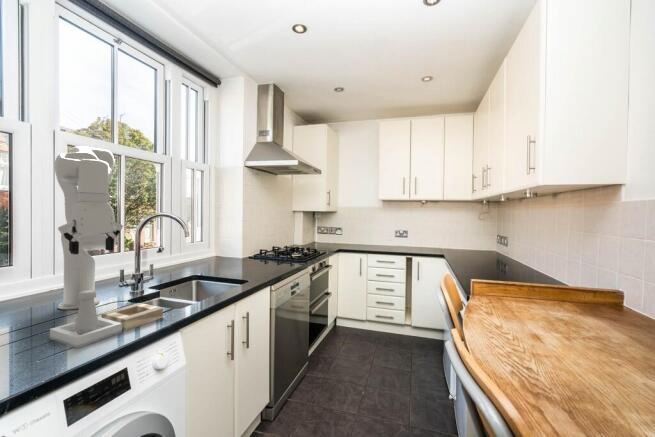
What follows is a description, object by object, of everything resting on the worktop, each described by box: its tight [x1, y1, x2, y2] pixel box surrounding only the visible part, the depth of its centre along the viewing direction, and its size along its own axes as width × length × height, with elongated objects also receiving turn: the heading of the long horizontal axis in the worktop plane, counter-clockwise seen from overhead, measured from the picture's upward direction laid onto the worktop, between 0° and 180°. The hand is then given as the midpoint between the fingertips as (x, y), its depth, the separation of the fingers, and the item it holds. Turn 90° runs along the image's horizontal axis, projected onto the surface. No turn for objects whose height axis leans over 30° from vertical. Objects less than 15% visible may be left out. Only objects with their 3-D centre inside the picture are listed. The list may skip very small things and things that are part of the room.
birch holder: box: [101, 302, 164, 331], centre depth 101 cm, size 13×13×4 cm
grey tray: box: [49, 316, 123, 349], centre depth 88 cm, size 14×12×3 cm
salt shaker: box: [74, 290, 99, 335], centre depth 88 cm, size 6×6×13 cm
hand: (92, 251), depth 92 cm, fingers open, 9 cm apart
